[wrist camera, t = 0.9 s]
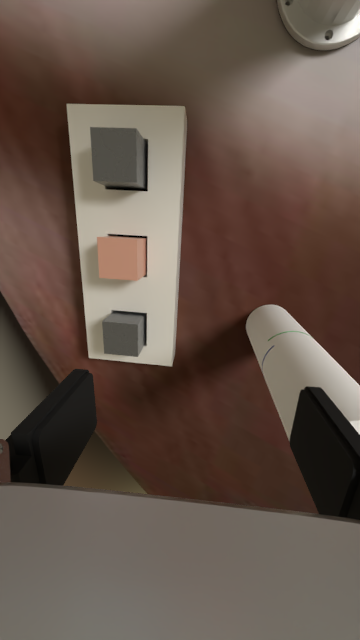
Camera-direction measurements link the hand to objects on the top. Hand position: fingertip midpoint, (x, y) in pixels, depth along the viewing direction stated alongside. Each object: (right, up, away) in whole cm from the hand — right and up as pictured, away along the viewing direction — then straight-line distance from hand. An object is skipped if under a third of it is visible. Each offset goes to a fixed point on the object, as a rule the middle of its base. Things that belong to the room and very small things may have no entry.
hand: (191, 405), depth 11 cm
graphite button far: (-8, +3, +28) cm, 29 cm away
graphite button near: (-7, +23, +20) cm, 32 cm away
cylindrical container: (+14, +3, +29) cm, 32 cm away
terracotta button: (-8, +13, +24) cm, 28 cm away
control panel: (-7, +14, +27) cm, 31 cm away
